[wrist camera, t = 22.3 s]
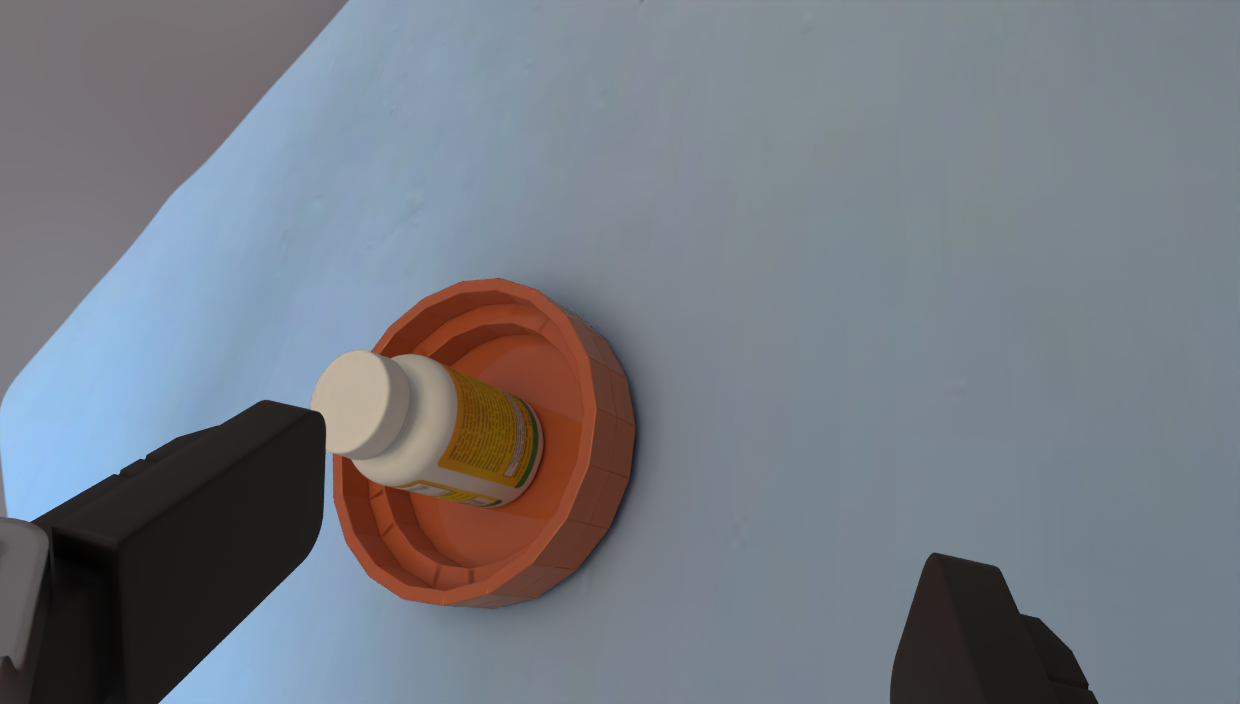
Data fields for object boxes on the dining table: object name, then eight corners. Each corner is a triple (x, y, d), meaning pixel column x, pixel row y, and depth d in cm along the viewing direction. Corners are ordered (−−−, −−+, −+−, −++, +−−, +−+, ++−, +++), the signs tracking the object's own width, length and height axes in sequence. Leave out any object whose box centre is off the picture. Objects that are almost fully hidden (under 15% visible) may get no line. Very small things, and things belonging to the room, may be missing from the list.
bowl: (421, 315, 45) (366, 289, 41) (657, 300, 38) (614, 267, 34) (368, 588, 41) (303, 584, 38) (620, 627, 34) (568, 625, 31)
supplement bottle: (479, 532, 38) (315, 503, 30) (439, 440, 41) (279, 390, 33) (567, 463, 37) (420, 413, 29) (519, 372, 40) (374, 304, 32)
